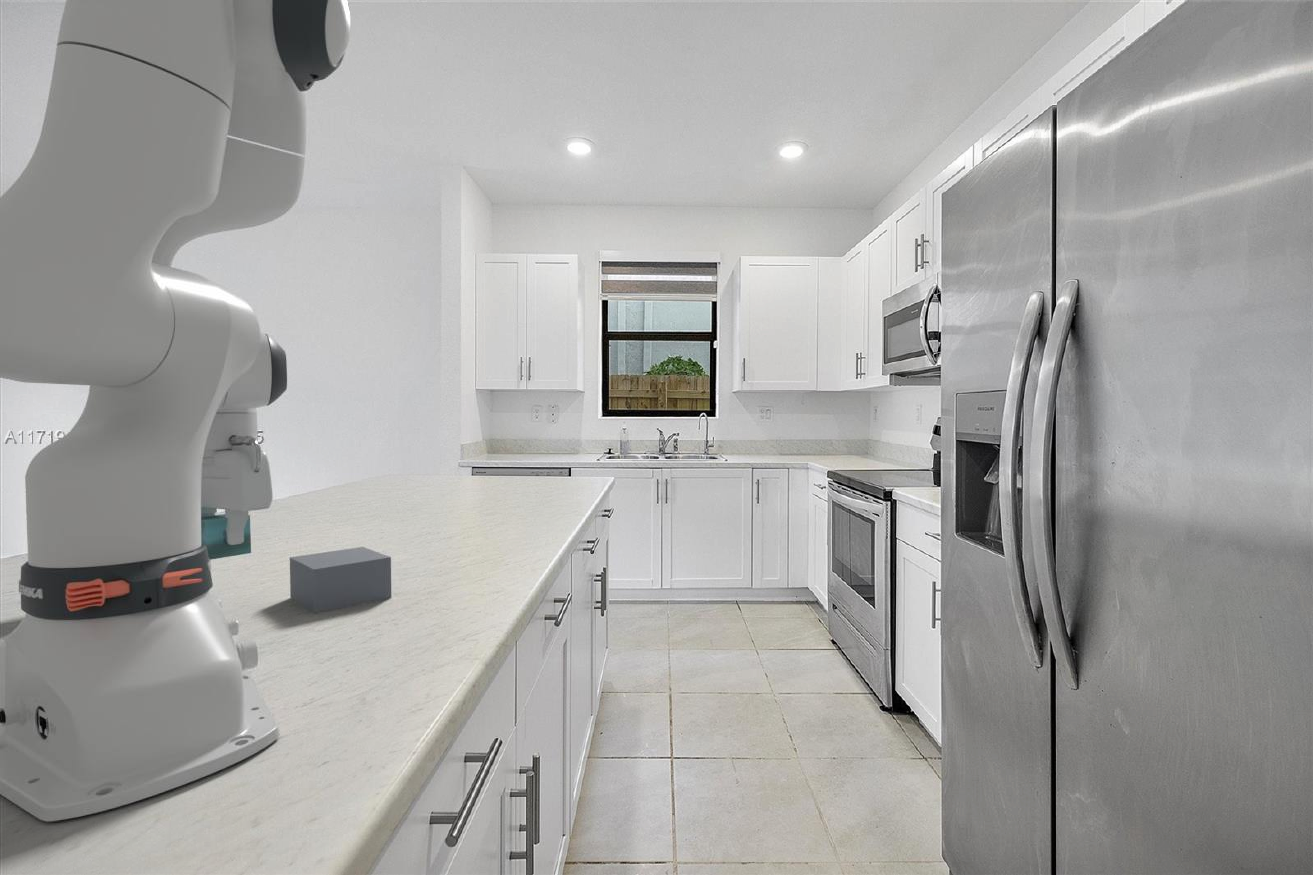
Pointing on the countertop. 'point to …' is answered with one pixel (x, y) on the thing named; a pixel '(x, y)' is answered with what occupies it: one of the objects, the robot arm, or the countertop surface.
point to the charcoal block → (340, 579)
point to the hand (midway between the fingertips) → (222, 542)
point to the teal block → (214, 537)
